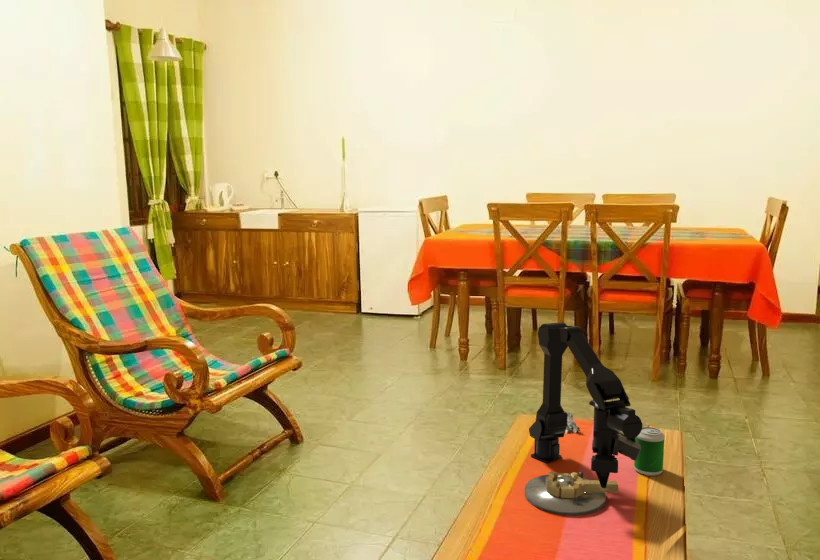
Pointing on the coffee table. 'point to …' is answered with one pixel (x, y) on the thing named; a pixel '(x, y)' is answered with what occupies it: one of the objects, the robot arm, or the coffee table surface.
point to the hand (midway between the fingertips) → (603, 487)
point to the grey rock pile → (571, 424)
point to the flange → (558, 505)
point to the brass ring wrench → (576, 486)
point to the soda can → (650, 451)
